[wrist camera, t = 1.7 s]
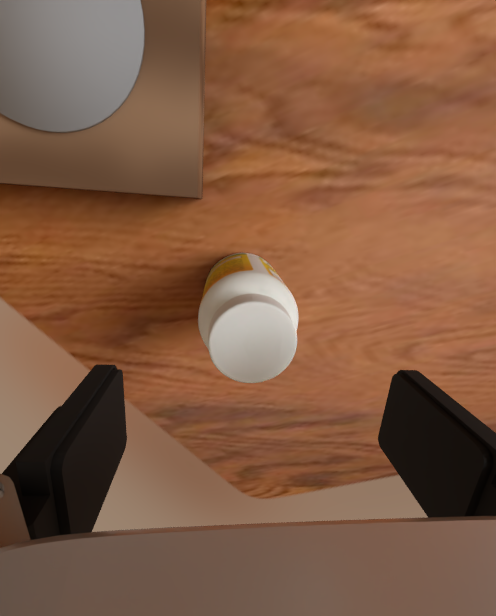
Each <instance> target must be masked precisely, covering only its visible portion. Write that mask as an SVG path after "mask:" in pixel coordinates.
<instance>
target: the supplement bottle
mask: <svg viewBox="0 0 496 616" xmlns="http://www.w3.org/2000/svg"><path fill="white" fill-rule="evenodd" d="M198 325H199V331H200V334H201V337H202V339H203V341H204V343H205V345H206V346H207V348H208V349H209V353H210V356H211V359H212V361H213V363H214V365H215V366H216V367H217V368H218V369H219V371H221V372H222V373H223V374H224V375H225V376H227V377H229V378H231V379H233V380H236V381H239V382H244V383H258V382H263V381H266V380H269V379H271V378H273V377H275V376H277V375H278V374H280V373H281V372H282V371H283V370H284V369H285V368H286V367H287V366H288V365H289V363H290V362H291V360H292V359H293V357H294V354H295V351H296V347H297V333H296V331H297V327H298V309H297V305H296V302H295V299H294V297H293V295H292V294H291V292H290V291H289V289H288V288H287V286H286V285H285V284H284V282H283V281H282V280H281V278H280V277H279V276H278V274H277V273H276V271H275V270H274V269H273V268H272V266H271V265H270V264H269V263H268V262H267V261H265V260H264V259H263V258H261V257H259V256H257V255H254V254H250V253H236V254H232V255H230V256H227V257H225V258H223V259H222V260H220V261H219V262H218V263H217V264H215V266H214V267H213V268H212V269H211V271H210V273H209V274H208V277H207V279H206V283H205V287H204V292H203V296H202V300H201V304H200V308H199V314H198Z"/></svg>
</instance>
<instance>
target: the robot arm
mask: <svg viewBox="0 0 496 616" xmlns="http://www.w3.org/2000/svg"><path fill="white" fill-rule="evenodd" d="M124 405H125V404H124V388H123V373H122V370H118V369H117V368H116V366H115V365H95V366H94V367H93V369H92V370H91V371H90V372H89V374H88V375H87V376H86V377H85V378H84V380H83V381H82V382H81V383H80V384H79V386H78V387H77V388H76V389H75V391H74V392H73V393H72V394H71V395H70V397H69V398H68V399H67V400H66V401H65V403H64V404H63V405H62V406H60V407H58V408H57V409H56V410H55V411H54V412H53V413H52V414H51V416H50V417H49V418H48V419H47V421H46V422H45V423H44V424H43V425H42V427H41V428H40V429H39V430H38V431H37V432H36V434H35V435H34V436H33V437H32V438H31V440H30V441H29V442H28V443H27V444H26V446H25V447H24V448H23V449H22V450H21V451H20V453H19V454H18V455H17V456H16V457H15V459H14V460H13V461H12V462H11V463H10V465H9V466H8V467H7V468H6V469H5V470H4V472H3V473H2V474H0V616H496V433H495V432H494V431H492V430H491V429H490V428H489V427H487V426H486V425H485V424H484V423H482V422H481V421H480V420H479V419H477V418H476V417H475V416H474V415H472V414H471V413H470V412H469V411H467V410H466V409H465V408H464V407H462V406H461V405H460V404H459V403H457V402H456V401H455V400H454V399H452V398H451V397H450V396H449V395H447V394H446V393H445V392H444V391H442V390H441V389H440V388H439V387H437V386H436V385H435V384H434V383H432V382H431V381H430V380H429V379H427V378H426V377H425V376H424V375H422V374H421V373H420V372H418V371H416V370H400V371H398V372H397V374H395V375H394V376H393V377H392V381H391V385H390V389H389V393H388V398H387V402H386V406H385V410H384V414H383V419H382V423H381V427H380V431H379V435H378V441H379V445H380V447H381V449H382V450H383V452H384V453H385V455H386V456H387V458H388V459H389V460H390V462H391V463H392V465H393V466H394V468H395V469H396V471H397V472H398V474H399V475H400V476H401V478H402V479H403V481H404V482H405V484H406V485H407V487H408V488H409V490H410V491H411V493H412V494H413V495H414V497H415V499H416V500H417V501H418V503H419V504H420V506H421V507H422V509H423V510H424V512H425V513H426V514H427V516H428V518H399V519H369V520H343V521H342V520H341V521H314V522H287V523H263V524H262V523H261V524H240V525H239V524H237V525H214V526H191V527H168V528H150V529H134V530H133V529H132V530H115V531H101V532H92V529H93V527H94V524H95V522H96V520H97V517H98V515H99V512H100V510H101V507H102V504H103V502H104V500H105V497H106V495H107V492H108V490H109V487H110V485H111V482H112V480H113V478H114V475H115V472H116V470H117V468H118V465H119V463H120V460H121V458H122V455H123V453H124V450H125V446H126V440H127V436H126V421H125V406H124Z"/></svg>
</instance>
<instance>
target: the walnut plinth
mask: <svg viewBox="0 0 496 616" xmlns="http://www.w3.org/2000/svg"><path fill="white" fill-rule="evenodd" d="M205 34H206V0H0V184H13V185H26V186H40V187H53V188H66V189H79V190H93V191H106V192H119V193H132V194H146V195H159V196H172V197H185V198H199V199H202V186H203V136H204V85H205Z"/></svg>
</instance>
